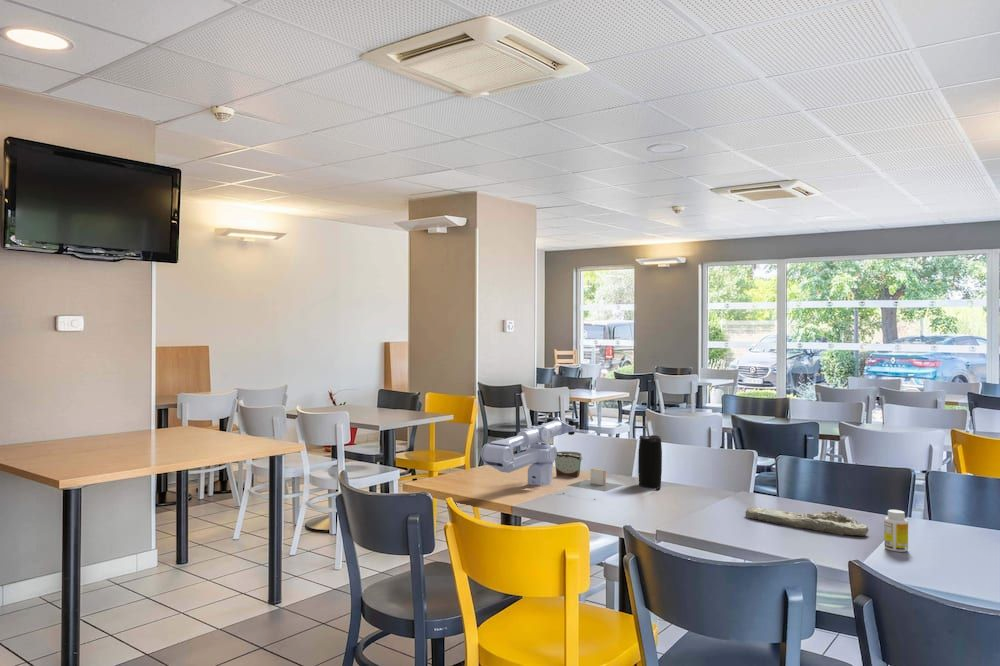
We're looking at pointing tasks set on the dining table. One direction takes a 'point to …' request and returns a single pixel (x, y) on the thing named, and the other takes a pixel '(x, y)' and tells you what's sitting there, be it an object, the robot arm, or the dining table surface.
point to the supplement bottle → (896, 531)
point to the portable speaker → (650, 461)
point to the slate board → (594, 485)
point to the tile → (598, 477)
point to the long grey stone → (810, 521)
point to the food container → (568, 464)
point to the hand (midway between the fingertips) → (569, 423)
